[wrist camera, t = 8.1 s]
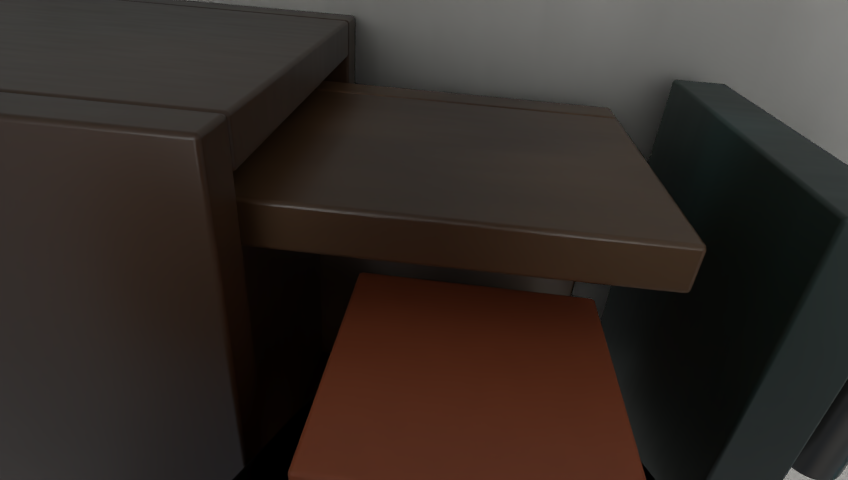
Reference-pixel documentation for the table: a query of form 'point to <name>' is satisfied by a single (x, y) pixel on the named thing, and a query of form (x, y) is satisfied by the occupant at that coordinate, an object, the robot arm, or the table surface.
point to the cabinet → (137, 227)
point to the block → (466, 389)
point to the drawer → (575, 253)
